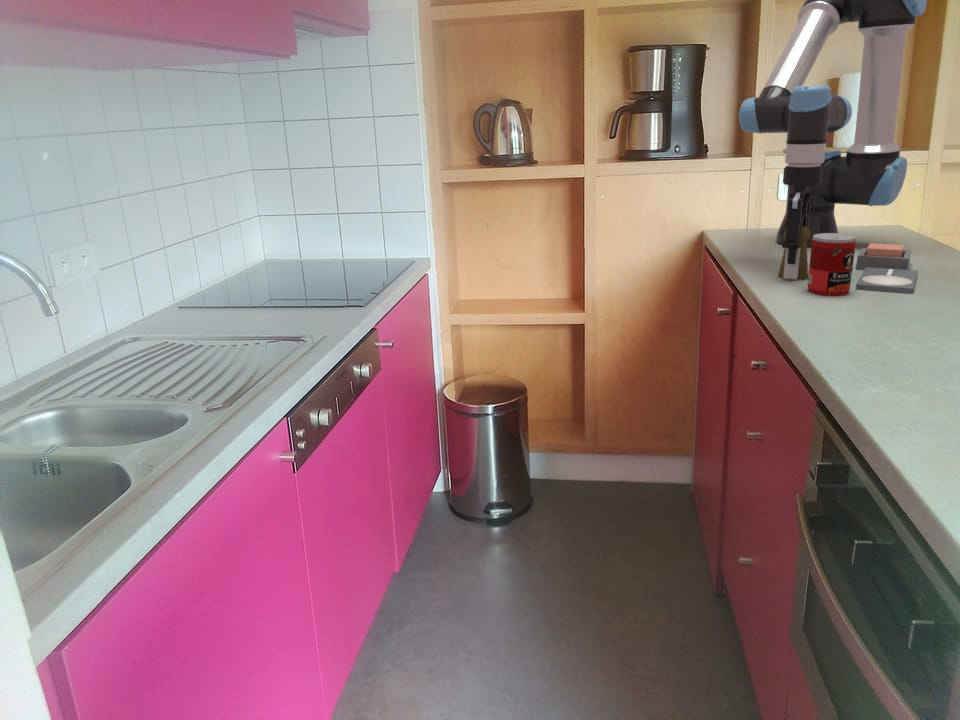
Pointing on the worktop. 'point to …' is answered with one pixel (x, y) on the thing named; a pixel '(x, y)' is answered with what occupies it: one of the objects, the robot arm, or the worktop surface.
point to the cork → (803, 256)
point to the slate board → (887, 280)
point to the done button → (885, 250)
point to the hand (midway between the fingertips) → (793, 275)
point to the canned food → (831, 263)
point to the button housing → (883, 261)
